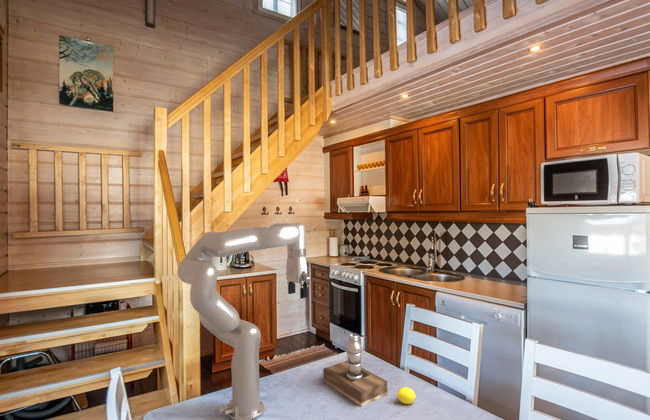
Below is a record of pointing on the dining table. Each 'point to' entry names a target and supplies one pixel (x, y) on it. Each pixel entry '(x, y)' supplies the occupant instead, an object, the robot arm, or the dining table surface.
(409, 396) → the lemon
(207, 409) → the dining table surface
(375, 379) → the brown slotted block
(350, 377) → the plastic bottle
